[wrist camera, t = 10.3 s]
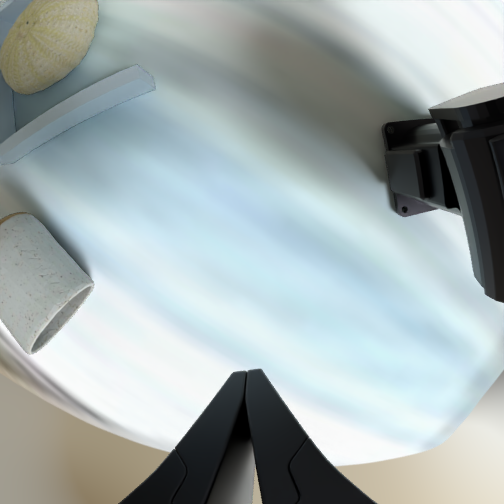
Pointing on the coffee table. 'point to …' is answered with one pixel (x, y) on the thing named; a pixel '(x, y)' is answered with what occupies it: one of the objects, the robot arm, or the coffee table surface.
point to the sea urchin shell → (47, 43)
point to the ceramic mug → (37, 282)
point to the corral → (66, 112)
